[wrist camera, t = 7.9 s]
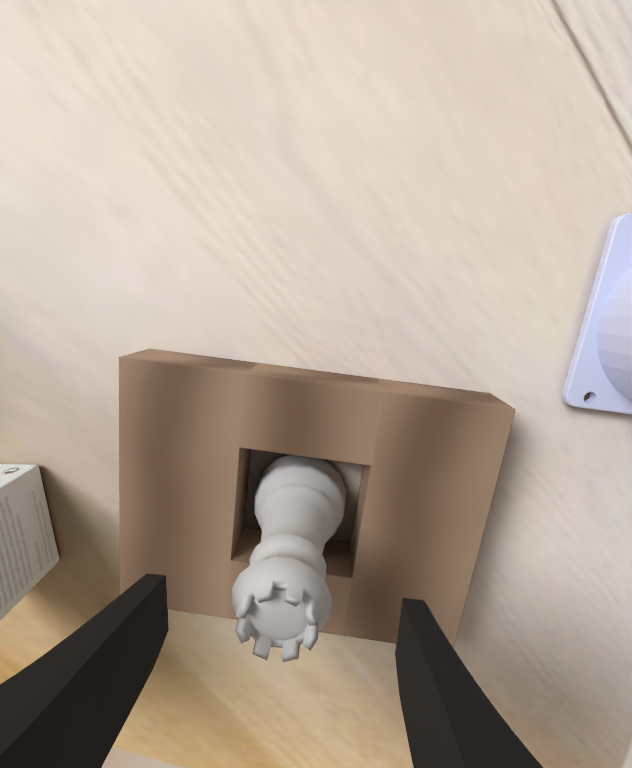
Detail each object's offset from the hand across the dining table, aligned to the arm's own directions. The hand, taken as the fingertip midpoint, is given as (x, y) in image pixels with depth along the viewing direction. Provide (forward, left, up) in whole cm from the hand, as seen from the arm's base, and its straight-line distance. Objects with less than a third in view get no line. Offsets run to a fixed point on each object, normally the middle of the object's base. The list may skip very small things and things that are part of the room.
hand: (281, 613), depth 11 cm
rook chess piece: (0, 0, -8) cm, 8 cm away
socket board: (0, 0, -8) cm, 8 cm away
